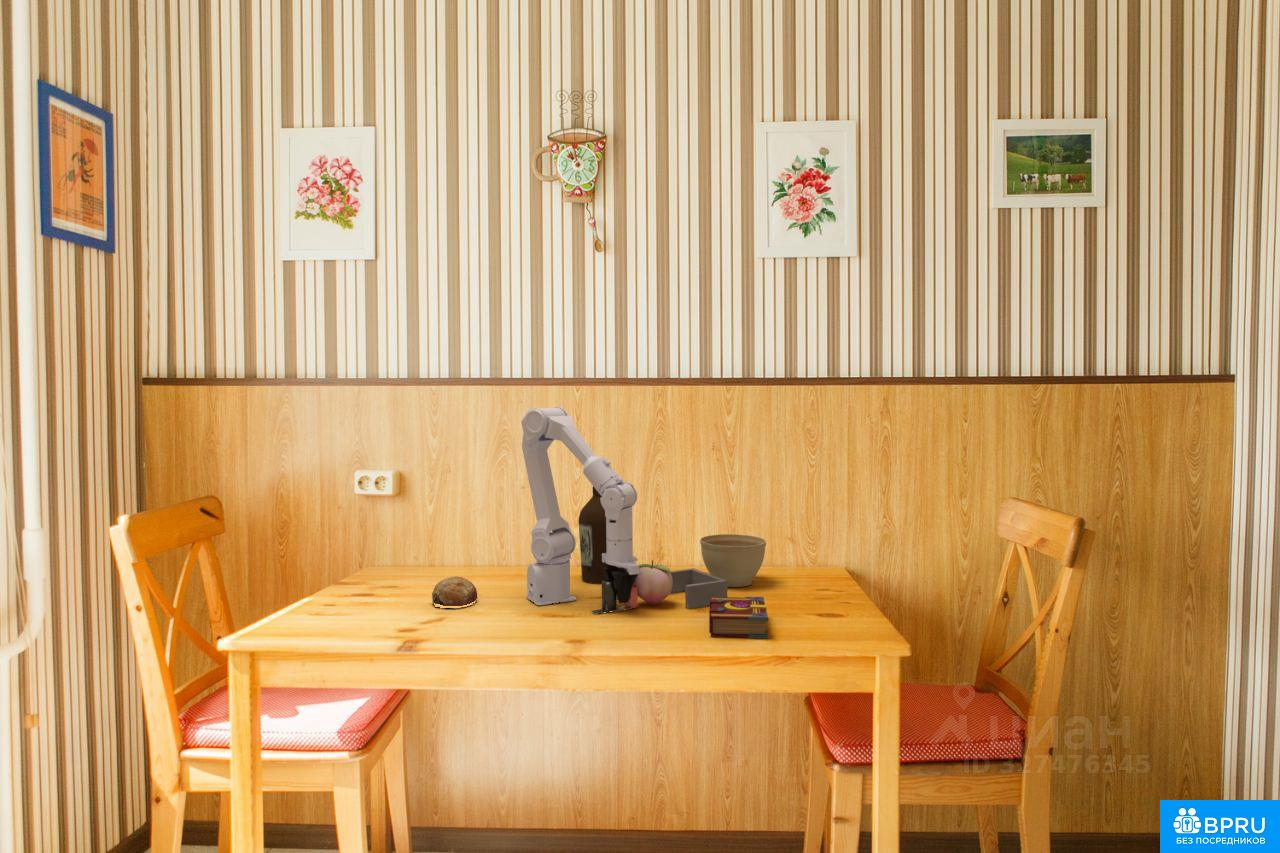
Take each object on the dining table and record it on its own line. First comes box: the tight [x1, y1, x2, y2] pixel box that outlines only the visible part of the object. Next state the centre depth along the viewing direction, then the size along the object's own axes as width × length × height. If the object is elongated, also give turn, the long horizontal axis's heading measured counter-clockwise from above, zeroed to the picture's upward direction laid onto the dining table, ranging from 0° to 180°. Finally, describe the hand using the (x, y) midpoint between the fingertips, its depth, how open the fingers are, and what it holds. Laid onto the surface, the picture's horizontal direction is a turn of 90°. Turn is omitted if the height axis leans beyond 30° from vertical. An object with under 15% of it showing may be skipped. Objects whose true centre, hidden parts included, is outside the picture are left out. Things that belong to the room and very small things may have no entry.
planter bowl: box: [699, 533, 767, 588], centre depth 192 cm, size 16×16×11 cm
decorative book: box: [708, 596, 769, 640], centre depth 157 cm, size 11×16×5 cm
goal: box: [670, 567, 728, 610], centre depth 178 cm, size 10×14×5 cm
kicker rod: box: [601, 580, 639, 611], centre depth 169 cm, size 8×4×6 cm, turn 118°
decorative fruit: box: [633, 559, 673, 606], centre depth 173 cm, size 9×8×10 cm
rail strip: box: [591, 605, 632, 615], centre depth 169 cm, size 9×2×1 cm, turn 118°
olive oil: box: [578, 485, 608, 584], centre depth 196 cm, size 11×11×25 cm
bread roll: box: [431, 575, 478, 606], centre depth 176 cm, size 10×10×8 cm
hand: (620, 600), depth 170 cm, fingers closed on kicker rod, 3 cm apart
